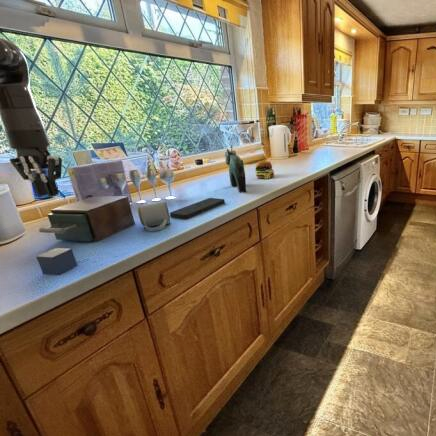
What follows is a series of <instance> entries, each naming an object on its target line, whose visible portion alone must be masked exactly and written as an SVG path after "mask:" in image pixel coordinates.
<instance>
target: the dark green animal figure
mask: <svg viewBox="0 0 436 436" xmlns="http://www.w3.org/2000/svg"><path fill="white" fill-rule="evenodd" d="M224 157H225V164H226V165H227V166H228V175H229V181H230V182H229V183H230V186H231V187H237V190H238V192H239V193H245V192H247V183H246V179H247V178H246V171H245V165H244V161H243V159H241V157H240V156H239V155H238V154H237V152H236V151H235V150H233V145H232V144H230V150H229V149H228V148H226V151H225V152H224Z"/></svg>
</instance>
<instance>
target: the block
mask: <svg viewBox="0 0 436 436" xmlns="http://www.w3.org/2000/svg"><path fill="white" fill-rule="evenodd" d="M35 258H36V260H37V262H38V265H39V267H40V270H41V272H42V274H43V275H52V276H60V275H62V274H64V273H66V272H68V271H70V270H72V269H74V268H75V267H78V262H77V260H76V256H75V254H74V252H73V248H66V247H55V248H52V249H50V250H47V251H45V252H43V253H40V254H38V255H36V256H35Z"/></svg>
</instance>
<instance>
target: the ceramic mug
mask: <svg viewBox="0 0 436 436" xmlns="http://www.w3.org/2000/svg"><path fill="white" fill-rule="evenodd" d="M137 208H138V209H137V213H138V218H139V221H140V225H142V226H143V227H144V228H145V229H146V230H147V231H148V232H158V231H161V230H163V229H164V228H165V227H166V225H168V224H171V222H172V221H171V216H170V212H169V208H168V204H167V202H166V200H159V201H154V202H150V203H146V204H145V203H144V204H143V205H139V207H137Z"/></svg>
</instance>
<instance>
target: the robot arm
mask: <svg viewBox="0 0 436 436" xmlns="http://www.w3.org/2000/svg"><path fill="white" fill-rule="evenodd" d="M30 81H31V80H30V73H29V65H28V62H27V59H26V57H25V54H24V53H23V51H22V50H21V49H20V47H18V46H17V45H16V44H15V43H13V42H12V41H10V40H8V39H6V38H5V39H4V38H2V37H0V125H1V126H0V127H1V128H2V130H3V134H4V136H5V138H6V141H7V144H8V146H9V148H10V149H12V150H16V157H12V158H9V162H10V163H11V165H12V166H13V168H14V169H15V170H16V172H17V173H18V174H19V175H20V177H21V178H22V179H23V180H24V181H27V180H28V181H29V182H30V183H32V185H33V188H34V191H35V193H36V196H38V197H43V196H46V195H48V196H49V197H54V196H58V195H59V189H58V185H57V183H56V181H57V179H61V178H62V169H63V168H62V166H63V159H62V157H60V156H54V155H52V154H51V152H50V151H49V150H48V147H49V146H50V145H51V143H50V140H49V137H48V134H47V131H46V128H45V125H44V122H43V119H42V117H41V115H40V113H39V110H38V109H37V106H36V102H35V100H34V96H33V94H32V92H31V85H30V84H31V83H30ZM46 173H47V174H46Z"/></svg>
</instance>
